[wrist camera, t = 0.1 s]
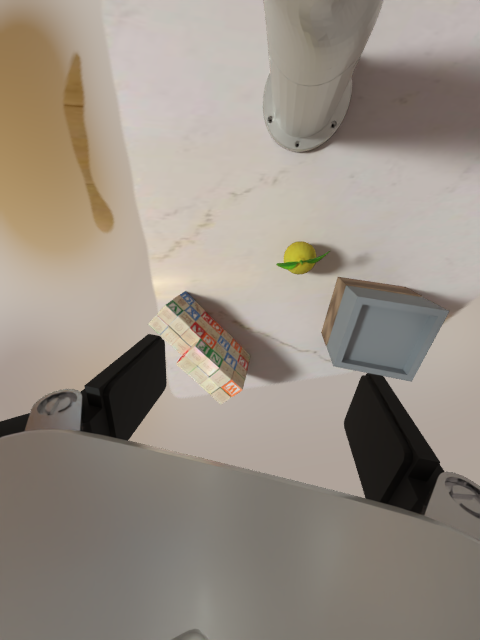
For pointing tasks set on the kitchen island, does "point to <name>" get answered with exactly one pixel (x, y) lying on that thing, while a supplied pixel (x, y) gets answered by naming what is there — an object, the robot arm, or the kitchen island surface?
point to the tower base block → (338, 296)
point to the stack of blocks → (203, 347)
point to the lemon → (300, 258)
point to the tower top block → (383, 332)
